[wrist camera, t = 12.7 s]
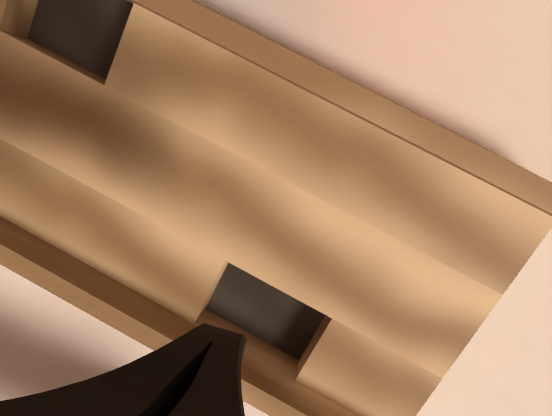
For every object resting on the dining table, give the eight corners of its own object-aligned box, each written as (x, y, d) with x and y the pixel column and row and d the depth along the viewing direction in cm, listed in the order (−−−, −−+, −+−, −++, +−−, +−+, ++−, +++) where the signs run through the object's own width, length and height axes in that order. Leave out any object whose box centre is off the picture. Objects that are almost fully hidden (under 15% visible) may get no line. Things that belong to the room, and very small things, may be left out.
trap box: (385, 423, 22) (394, 485, 18) (-102, 154, 24) (-187, 158, 20) (548, 191, 19) (602, 208, 15) (-41, -107, 20) (-131, -163, 16)
